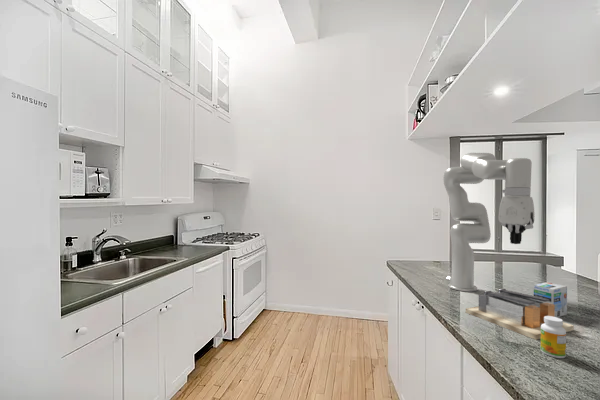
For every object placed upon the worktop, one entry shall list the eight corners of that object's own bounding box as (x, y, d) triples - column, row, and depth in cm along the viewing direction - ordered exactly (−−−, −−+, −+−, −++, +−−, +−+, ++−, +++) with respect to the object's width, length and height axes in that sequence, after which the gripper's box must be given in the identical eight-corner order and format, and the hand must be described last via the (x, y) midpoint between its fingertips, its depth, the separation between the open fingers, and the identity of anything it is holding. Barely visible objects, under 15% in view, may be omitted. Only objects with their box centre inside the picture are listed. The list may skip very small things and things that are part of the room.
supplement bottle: (535, 349, 85) (535, 314, 85) (552, 348, 86) (553, 314, 86) (552, 359, 80) (553, 322, 80) (571, 358, 80) (571, 322, 80)
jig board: (465, 312, 113) (465, 308, 113) (500, 306, 121) (500, 302, 121) (536, 339, 91) (536, 334, 91) (573, 330, 99) (573, 325, 99)
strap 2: (498, 292, 114) (498, 289, 114) (503, 291, 115) (503, 288, 116) (544, 302, 100) (544, 299, 100) (549, 301, 101) (549, 298, 101)
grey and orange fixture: (478, 310, 112) (478, 293, 112) (503, 305, 117) (503, 289, 117) (530, 329, 95) (530, 309, 95) (556, 322, 101) (556, 304, 101)
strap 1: (484, 294, 111) (483, 291, 111) (489, 293, 112) (489, 290, 112) (529, 305, 97) (529, 301, 97) (535, 304, 98) (534, 300, 98)
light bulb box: (553, 319, 108) (554, 289, 108) (532, 312, 114) (532, 284, 114) (567, 314, 113) (568, 285, 113) (546, 308, 119) (546, 281, 119)
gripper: (490, 192, 113) (488, 240, 114) (533, 193, 99) (531, 247, 100) (503, 192, 116) (502, 239, 117) (547, 193, 102) (545, 246, 103)
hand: (515, 243), depth 108 cm, fingers closed
